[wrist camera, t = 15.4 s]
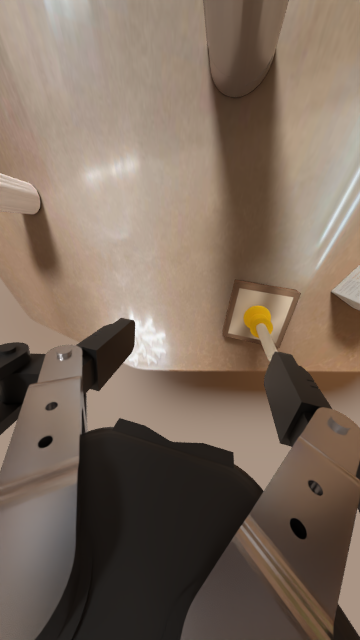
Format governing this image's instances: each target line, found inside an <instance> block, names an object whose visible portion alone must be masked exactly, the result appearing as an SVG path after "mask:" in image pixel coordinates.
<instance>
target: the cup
mask: <svg viewBox="0 0 360 640" xmlns="http://www.w3.org/2000/svg"><path fill="white" fill-rule="evenodd" d="M39 209H40V197H39V195H38V192H37V190H36V189H35V188H34V187H33V185H31V184H29V183H28V182H24V181H21V180H18V179H15V178H12V177H9V176H6V175H3V174H1V173H0V211H1V212H12V213H23V214H35V213H37V212H38V210H39Z"/></svg>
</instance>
